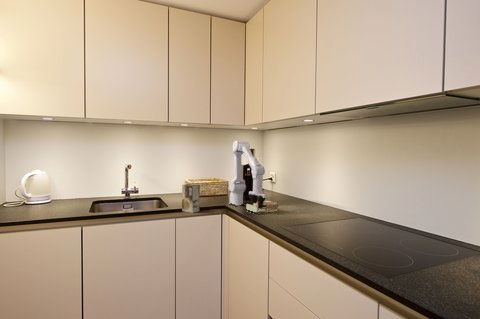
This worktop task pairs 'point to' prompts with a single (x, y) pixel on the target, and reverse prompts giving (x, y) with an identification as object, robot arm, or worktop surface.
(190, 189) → the coffee box
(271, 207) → the housing
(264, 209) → the tray
